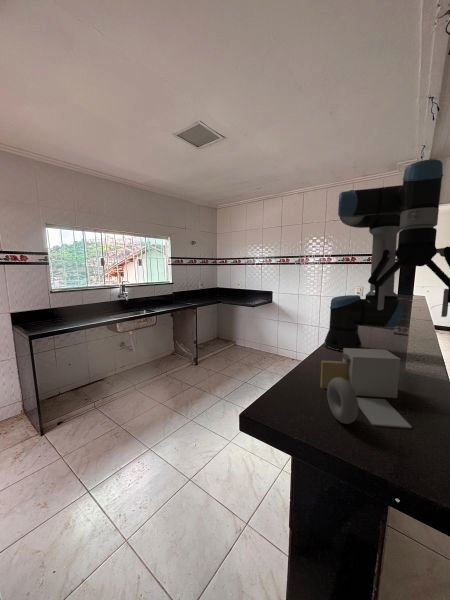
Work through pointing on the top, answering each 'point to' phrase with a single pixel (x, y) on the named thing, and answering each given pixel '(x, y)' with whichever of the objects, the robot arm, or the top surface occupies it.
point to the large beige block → (372, 372)
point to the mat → (381, 413)
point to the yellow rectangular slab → (333, 371)
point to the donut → (342, 400)
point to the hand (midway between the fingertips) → (409, 312)
